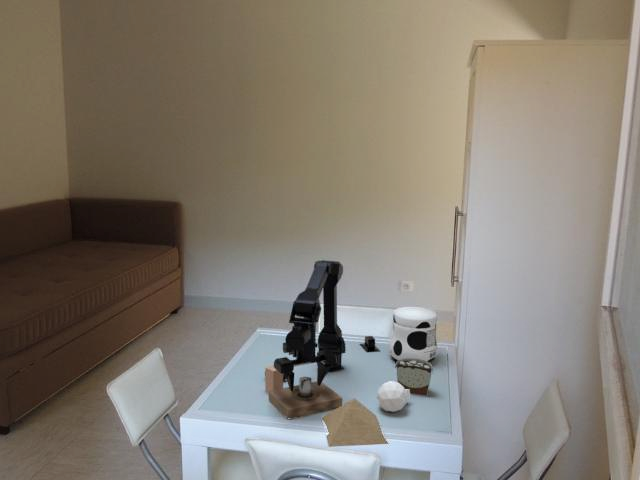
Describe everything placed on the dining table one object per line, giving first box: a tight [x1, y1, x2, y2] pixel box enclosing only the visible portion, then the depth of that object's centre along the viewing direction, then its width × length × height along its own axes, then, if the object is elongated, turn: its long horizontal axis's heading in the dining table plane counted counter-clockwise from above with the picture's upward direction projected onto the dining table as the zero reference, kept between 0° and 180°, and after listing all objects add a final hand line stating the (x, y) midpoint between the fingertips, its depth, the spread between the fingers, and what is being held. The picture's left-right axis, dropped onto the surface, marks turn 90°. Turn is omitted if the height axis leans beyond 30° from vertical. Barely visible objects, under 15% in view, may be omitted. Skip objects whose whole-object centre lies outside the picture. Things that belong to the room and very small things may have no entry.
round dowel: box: [298, 376, 312, 398], centre depth 177 cm, size 4×4×8 cm
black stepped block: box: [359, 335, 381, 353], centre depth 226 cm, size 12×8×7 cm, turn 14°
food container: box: [394, 358, 435, 398], centre depth 188 cm, size 12×6×10 cm, turn 71°
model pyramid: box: [321, 397, 389, 448], centre depth 162 cm, size 17×17×10 cm
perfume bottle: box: [376, 380, 411, 413], centre depth 175 cm, size 9×9×12 cm
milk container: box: [389, 306, 438, 364], centre depth 213 cm, size 17×17×18 cm
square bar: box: [264, 364, 284, 394], centre depth 185 cm, size 4×4×8 cm
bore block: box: [268, 380, 343, 419], centre depth 177 cm, size 18×14×3 cm
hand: (305, 388), depth 177 cm, fingers open, 9 cm apart
